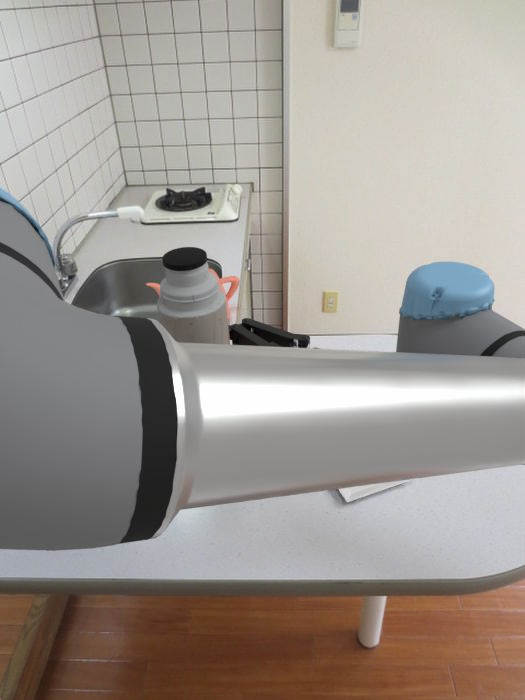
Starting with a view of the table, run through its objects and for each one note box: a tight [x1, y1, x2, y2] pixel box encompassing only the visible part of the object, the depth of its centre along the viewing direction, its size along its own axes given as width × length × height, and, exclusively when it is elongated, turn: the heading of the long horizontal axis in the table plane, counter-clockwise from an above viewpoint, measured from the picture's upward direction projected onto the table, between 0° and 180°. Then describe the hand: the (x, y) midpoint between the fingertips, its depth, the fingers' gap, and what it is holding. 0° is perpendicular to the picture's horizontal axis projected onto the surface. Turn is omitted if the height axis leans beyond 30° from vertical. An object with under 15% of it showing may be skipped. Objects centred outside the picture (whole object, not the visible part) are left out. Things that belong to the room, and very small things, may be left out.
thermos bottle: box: [156, 246, 231, 345], centre depth 65 cm, size 8×8×28 cm
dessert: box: [338, 479, 414, 503], centre depth 86 cm, size 12×12×5 cm
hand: (167, 342), depth 67 cm, fingers closed on thermos bottle, 8 cm apart
